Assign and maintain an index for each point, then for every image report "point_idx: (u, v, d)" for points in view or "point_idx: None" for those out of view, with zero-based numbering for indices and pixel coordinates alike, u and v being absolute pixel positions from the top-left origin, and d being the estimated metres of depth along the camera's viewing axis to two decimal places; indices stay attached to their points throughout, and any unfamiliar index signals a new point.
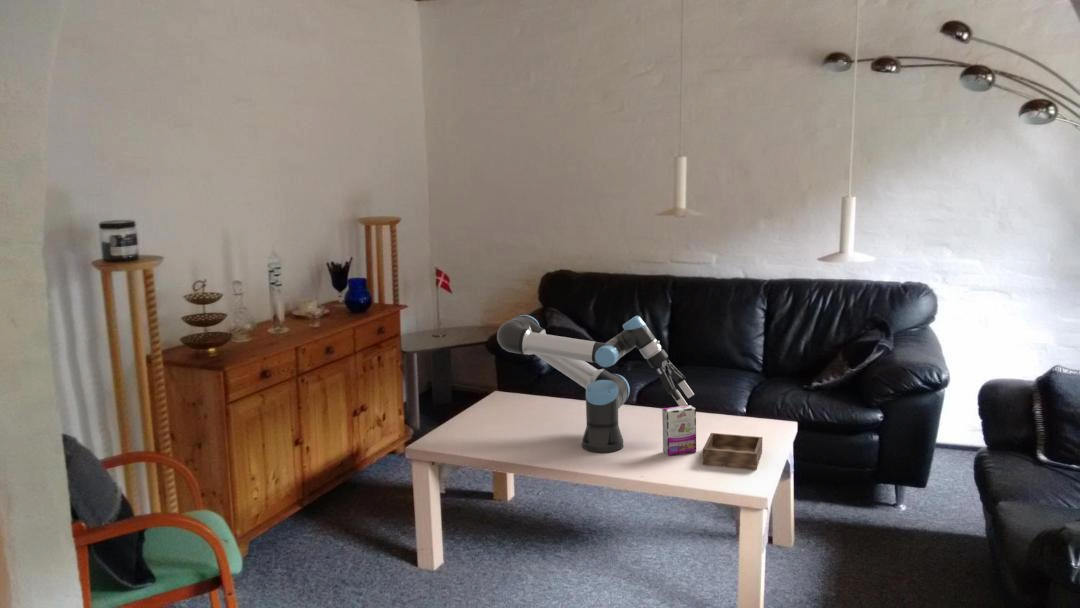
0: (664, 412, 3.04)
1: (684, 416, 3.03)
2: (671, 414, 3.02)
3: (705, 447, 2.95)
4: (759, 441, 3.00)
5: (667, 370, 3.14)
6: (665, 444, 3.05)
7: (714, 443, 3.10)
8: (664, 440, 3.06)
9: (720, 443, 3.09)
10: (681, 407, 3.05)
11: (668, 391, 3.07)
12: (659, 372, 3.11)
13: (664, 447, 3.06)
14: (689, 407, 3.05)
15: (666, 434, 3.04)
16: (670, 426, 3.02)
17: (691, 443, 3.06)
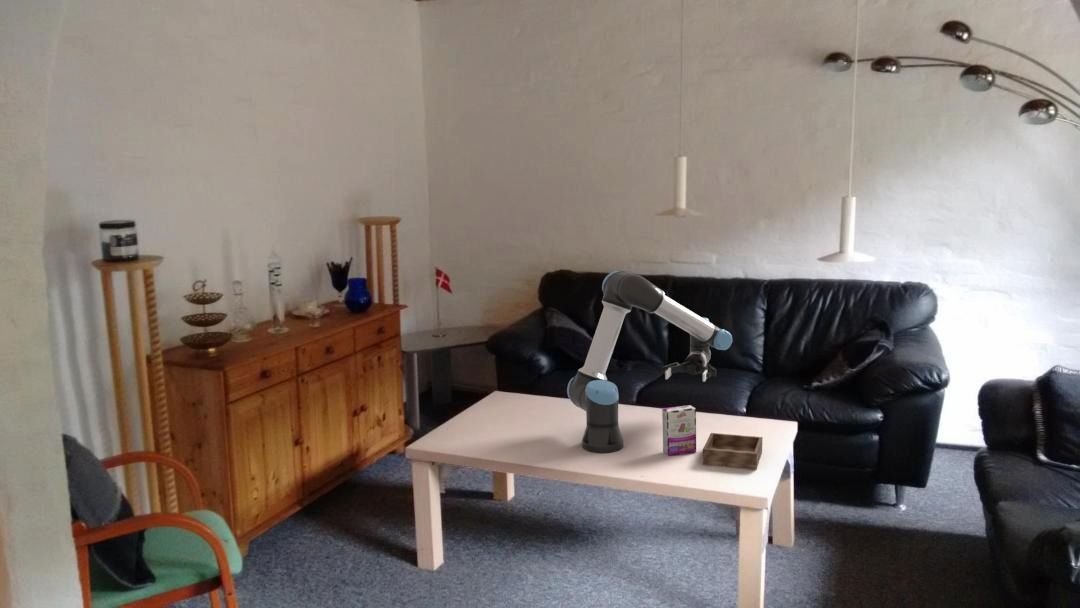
0: (664, 412, 3.04)
1: (684, 416, 3.03)
2: (671, 414, 3.02)
3: (705, 447, 2.95)
4: (759, 441, 3.00)
5: None
6: (665, 444, 3.05)
7: (714, 443, 3.10)
8: (664, 440, 3.06)
9: (720, 443, 3.09)
10: (681, 407, 3.05)
11: None
12: None
13: (664, 447, 3.06)
14: (689, 407, 3.05)
15: (666, 434, 3.04)
16: (670, 426, 3.02)
17: (691, 443, 3.06)
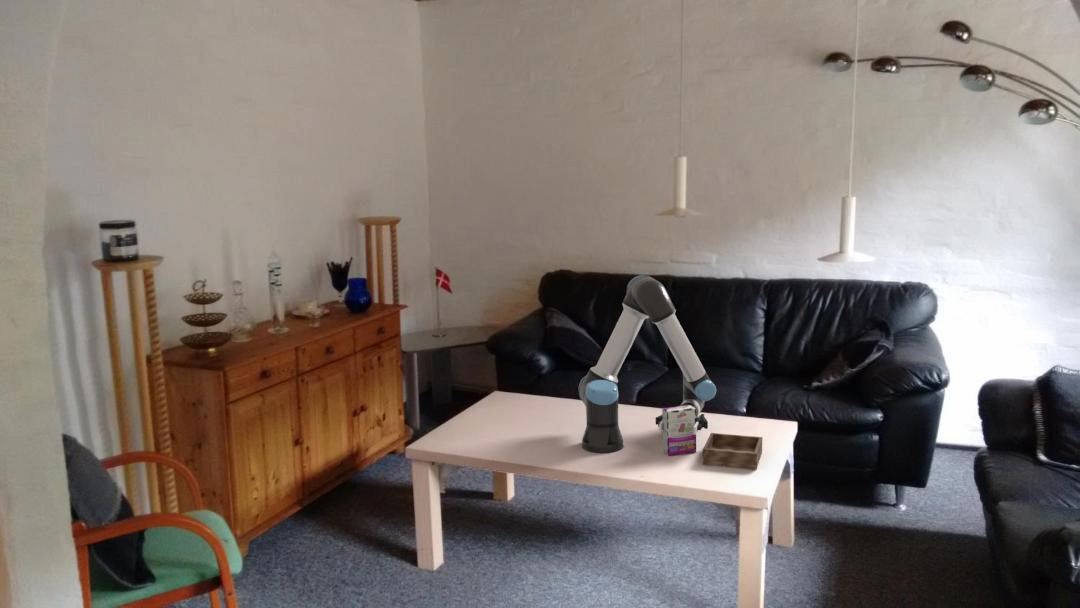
0: (664, 412, 3.04)
1: (684, 416, 3.03)
2: (671, 414, 3.02)
3: (705, 447, 2.95)
4: (759, 441, 3.00)
5: None
6: (665, 444, 3.05)
7: (714, 443, 3.10)
8: (664, 440, 3.06)
9: (720, 443, 3.09)
10: (681, 407, 3.05)
11: (707, 423, 3.06)
12: None
13: (664, 447, 3.06)
14: (689, 407, 3.05)
15: (666, 434, 3.04)
16: (670, 426, 3.02)
17: (691, 443, 3.06)
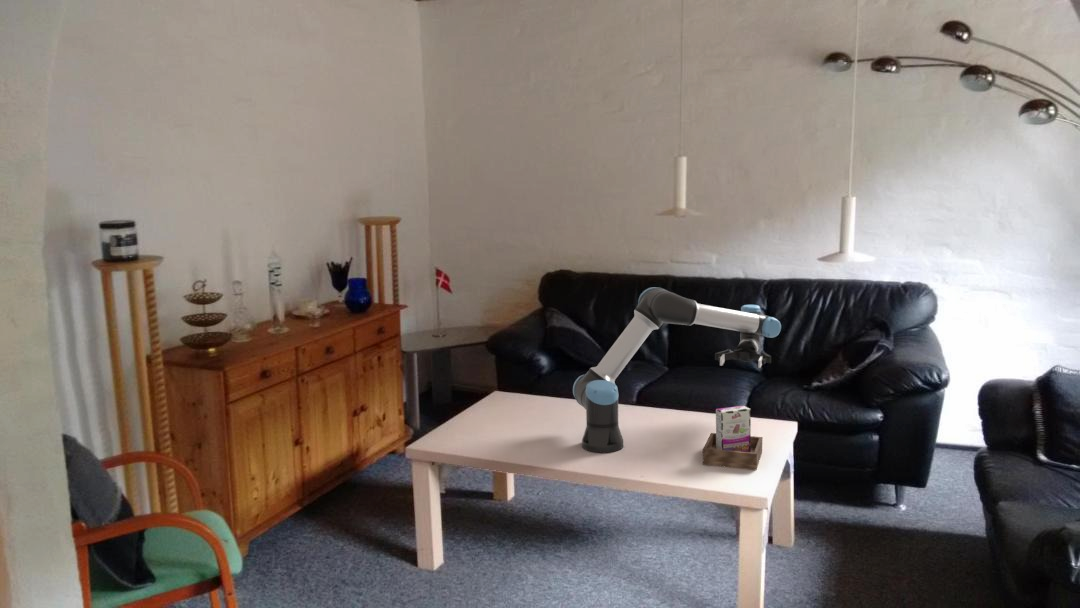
0: (718, 413, 2.96)
1: (739, 417, 2.95)
2: (726, 415, 2.94)
3: (705, 447, 2.95)
4: (759, 441, 3.00)
5: None
6: (718, 445, 2.98)
7: (714, 443, 3.10)
8: (718, 441, 2.98)
9: None
10: (735, 408, 2.98)
11: (770, 357, 3.14)
12: None
13: (718, 449, 2.99)
14: (743, 408, 2.97)
15: (720, 435, 2.96)
16: (725, 427, 2.95)
17: (746, 445, 2.98)
